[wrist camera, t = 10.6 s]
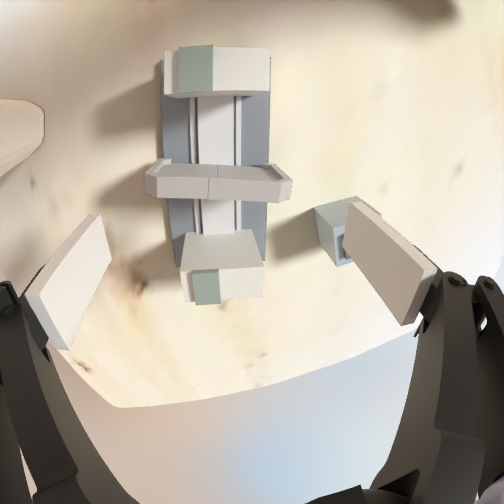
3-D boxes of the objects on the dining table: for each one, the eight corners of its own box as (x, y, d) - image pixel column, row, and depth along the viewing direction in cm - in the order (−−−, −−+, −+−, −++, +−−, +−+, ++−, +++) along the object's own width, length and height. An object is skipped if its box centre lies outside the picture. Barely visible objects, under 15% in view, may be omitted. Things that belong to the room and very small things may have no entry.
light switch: (158, 158, 25) (140, 176, 18) (275, 163, 27) (297, 184, 20) (158, 174, 26) (140, 198, 19) (273, 179, 28) (294, 204, 21)
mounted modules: (177, 66, 21) (163, 49, 14) (254, 64, 22) (271, 46, 15) (188, 259, 32) (184, 305, 25) (251, 255, 33) (263, 300, 26)
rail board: (162, 61, 21) (159, 58, 20) (269, 58, 23) (272, 55, 21) (176, 263, 33) (175, 270, 32) (263, 257, 35) (266, 264, 33)
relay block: (313, 207, 32) (335, 230, 26) (356, 195, 32) (384, 216, 26) (318, 241, 35) (338, 269, 29) (358, 229, 35) (383, 254, 29)
